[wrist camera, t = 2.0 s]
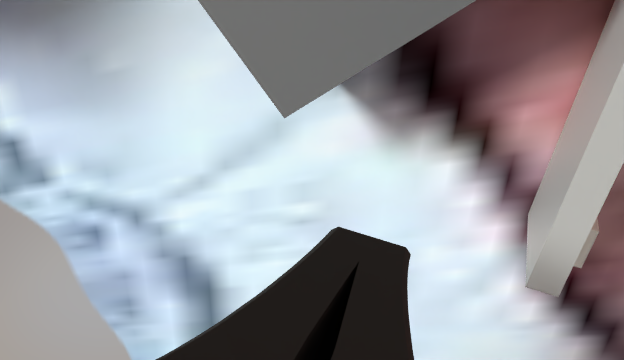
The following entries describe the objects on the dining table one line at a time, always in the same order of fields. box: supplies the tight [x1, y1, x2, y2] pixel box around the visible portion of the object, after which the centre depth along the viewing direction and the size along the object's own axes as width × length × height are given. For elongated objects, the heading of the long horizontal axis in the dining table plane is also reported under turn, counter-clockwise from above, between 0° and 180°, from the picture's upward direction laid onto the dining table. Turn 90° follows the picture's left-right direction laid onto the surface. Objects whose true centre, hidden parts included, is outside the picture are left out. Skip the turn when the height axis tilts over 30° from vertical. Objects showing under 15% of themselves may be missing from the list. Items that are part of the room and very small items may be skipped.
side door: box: [525, 0, 624, 297], centre depth 14 cm, size 10×1×3 cm, turn 173°
